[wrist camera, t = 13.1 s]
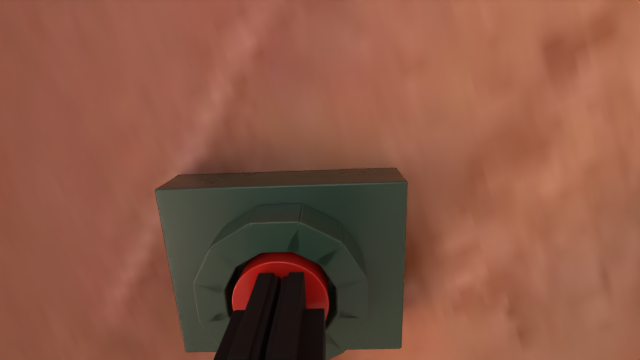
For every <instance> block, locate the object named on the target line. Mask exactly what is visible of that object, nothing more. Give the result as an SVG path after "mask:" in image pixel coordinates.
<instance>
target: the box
mask: <svg viewBox="0 0 640 360" xmlns="http://www.w3.org/2000/svg"><path fill="white" fill-rule="evenodd" d="M407 185H408V183H407V181H406V179H405V178H404V177H403V176H402V175H401V173H400V172H399V171H398V170H397V168H374V169H344V170H314V171H285V172H255V173H225V174H195V175H178V176H176V177H175V178H173V179H171V180H170V181H168V182H167V183H165V184H163V185H162V186H160V187H159V188H157V189H156V190H155V194H156V199H157V204H158V210H159V215H160V220H161V225H162V230H163V236H164V241H165V246H166V251H167V257H168V262H169V267H170V272H171V277H172V283H173V288H174V293H175V298H176V304H177V309H178V314H179V319H180V324H181V330H182V335H183V340H184V345H185V351H186V352H217V350H218V348H219V345H220V343H221V340H222V338H223V336H224V333H225V331H226V328H227V326H228V324H229V321H230V319H231V316H232V314H233V312H234V311H233V307H232V294H233V290H234V287H235V285H236V283H237V281H238V278H239V276H240V274H241V272H242V269H243V267H244V265H245V263H246V261H248V260H249V259H251V258H253V257H255V256H256V255H258V254H260V253H268V252H294V253H296V254H298V255H300V256H302V257H304V258H307V259H309V260H311V261H313V262H315V263H317V264H319V265H320V266H321V267H322V269H323V270H324V272H325V273H326V274H327V276H328V277H329V310H328V315H327V318H326V320H325V332H326V360H329V359H331V358H333V357H335V356H337V355H339V354H342V353H343V352H344V351H346V350H352V349H400V348H401V347H402V321H403V294H404V266H405V239H406V212H407Z"/></svg>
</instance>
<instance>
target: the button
mask: <svg viewBox="0 0 640 360" xmlns="http://www.w3.org/2000/svg"><path fill="white" fill-rule="evenodd" d="M289 272H304V277H305V293H306V309H314V308H324V310H325V320H326V318H327V315H328V310H329V277H328V276H327V274H326V273H325V272H324V270H323V269H322V267H321V266H320V265H319V264H317V263H315V262H313V261H311V260H309V259H307V258H304V257H302V256H300V255H298V254H296V253H294V252H268V253H260V254H258V255H256V256H255V257H253V258H251V259H249V260H248V261H246V263H245V265H244V267H243V269H242V272H241V274H240V276H239V278H238V281H237V283H236V285H235V287H234V290H233V294H232V307H233V311H235V310H245V309H246V306H247V303H248V300H249V298H250V295H251V292H252V289H253V287H254V284H255V281H256V279H257V276H258V274H259V273H274V274H275V276H279V277H280V285H281V284H282V280H283V277H284V276H288V275H289Z"/></svg>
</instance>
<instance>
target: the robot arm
mask: <svg viewBox="0 0 640 360" xmlns="http://www.w3.org/2000/svg"><path fill="white" fill-rule="evenodd" d="M214 360H326V332H325V310H324V308H314V309H306V293H305V277H304V272H289V275H288V276H284V277H283V280H282V284H281V285H280V277H279V276H275V274H274V273H259V274H258V276H257V279H256V281H255V284H254V287H253V289H252V292H251V295H250V298H249V300H248V303H247V306H246V309H245V310H235V311H234V312H233V314H232V316H231V319H230V321H229V324H228V326H227V328H226V331H225V333H224V336H223V338H222V340H221V343H220V345H219V348H218V350H217V353H216V355H215V357H214Z"/></svg>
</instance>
